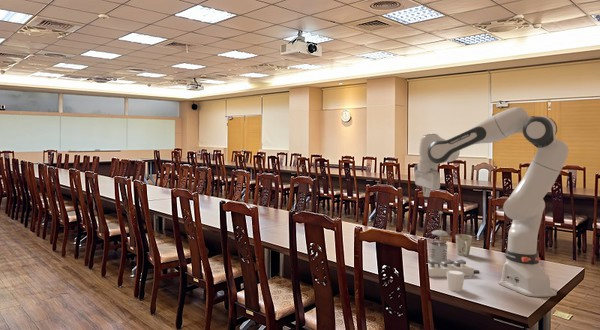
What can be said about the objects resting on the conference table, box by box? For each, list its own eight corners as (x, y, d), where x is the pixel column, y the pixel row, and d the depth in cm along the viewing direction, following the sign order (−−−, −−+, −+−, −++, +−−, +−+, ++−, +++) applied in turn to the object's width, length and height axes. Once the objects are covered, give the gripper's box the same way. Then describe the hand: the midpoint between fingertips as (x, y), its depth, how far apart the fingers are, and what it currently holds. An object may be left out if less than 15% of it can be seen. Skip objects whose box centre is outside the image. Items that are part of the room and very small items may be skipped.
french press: (428, 261, 218) (430, 211, 217) (428, 255, 229) (430, 208, 228) (448, 263, 215) (451, 213, 214) (448, 257, 226) (450, 209, 225)
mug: (468, 252, 238) (469, 234, 237) (475, 259, 225) (476, 240, 225) (452, 252, 239) (453, 233, 238) (458, 258, 226) (460, 239, 226)
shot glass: (449, 285, 183) (450, 268, 183) (466, 289, 179) (467, 272, 179) (443, 289, 178) (444, 272, 178) (460, 293, 174) (461, 276, 173)
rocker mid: (453, 263, 198) (452, 260, 198) (444, 266, 197) (443, 264, 197) (449, 261, 201) (449, 258, 201) (440, 264, 200) (440, 262, 200)
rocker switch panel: (483, 275, 198) (484, 264, 198) (427, 276, 194) (427, 265, 193) (473, 270, 206) (474, 259, 206) (419, 271, 202) (420, 260, 201)
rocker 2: (466, 264, 199) (465, 261, 199) (456, 266, 198) (456, 263, 198) (462, 262, 202) (461, 259, 202) (453, 264, 201) (452, 261, 201)
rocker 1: (439, 266, 197) (440, 263, 197) (430, 264, 196) (431, 261, 196) (436, 264, 200) (437, 261, 200) (427, 262, 199) (428, 259, 199)
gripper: (444, 169, 200) (442, 199, 201) (424, 166, 220) (423, 194, 221) (431, 169, 199) (429, 199, 200) (412, 166, 219) (411, 193, 220)
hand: (426, 196), depth 210 cm, fingers closed
